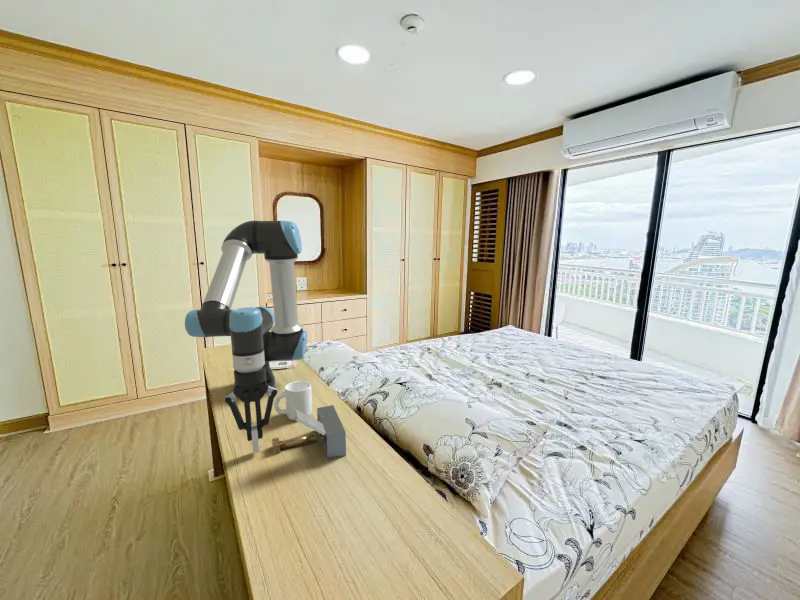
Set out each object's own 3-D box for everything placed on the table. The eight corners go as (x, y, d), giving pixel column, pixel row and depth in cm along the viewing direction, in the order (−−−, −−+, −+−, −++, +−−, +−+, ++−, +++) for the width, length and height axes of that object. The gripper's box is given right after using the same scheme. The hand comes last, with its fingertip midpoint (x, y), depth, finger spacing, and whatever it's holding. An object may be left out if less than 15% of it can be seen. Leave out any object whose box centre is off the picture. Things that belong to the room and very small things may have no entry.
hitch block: (317, 429, 103) (316, 408, 102) (333, 425, 105) (333, 405, 104) (327, 459, 89) (326, 435, 87) (346, 455, 91) (345, 431, 89)
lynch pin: (273, 454, 91) (272, 446, 90) (272, 446, 94) (272, 438, 94) (317, 444, 95) (316, 437, 95) (314, 437, 99) (314, 429, 99)
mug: (277, 426, 104) (275, 396, 103) (273, 415, 111) (271, 386, 110) (315, 417, 110) (314, 387, 108) (308, 406, 117) (307, 378, 116)
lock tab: (293, 411, 89) (295, 409, 89) (320, 425, 92) (322, 423, 92) (295, 420, 84) (297, 418, 84) (324, 435, 88) (325, 433, 88)
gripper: (219, 376, 81) (228, 463, 85) (276, 368, 86) (282, 451, 90) (222, 366, 88) (230, 447, 92) (275, 359, 93) (280, 436, 97)
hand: (256, 449), depth 91 cm, fingers closed
